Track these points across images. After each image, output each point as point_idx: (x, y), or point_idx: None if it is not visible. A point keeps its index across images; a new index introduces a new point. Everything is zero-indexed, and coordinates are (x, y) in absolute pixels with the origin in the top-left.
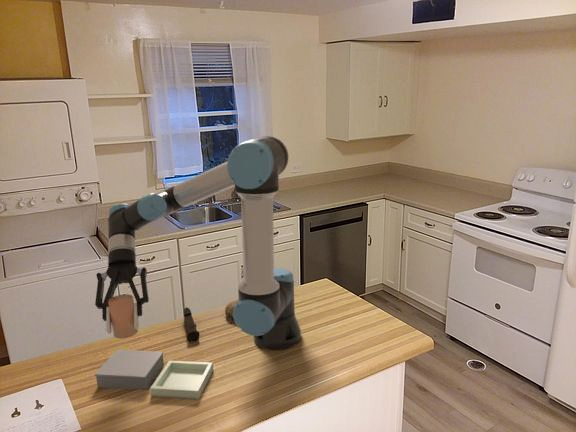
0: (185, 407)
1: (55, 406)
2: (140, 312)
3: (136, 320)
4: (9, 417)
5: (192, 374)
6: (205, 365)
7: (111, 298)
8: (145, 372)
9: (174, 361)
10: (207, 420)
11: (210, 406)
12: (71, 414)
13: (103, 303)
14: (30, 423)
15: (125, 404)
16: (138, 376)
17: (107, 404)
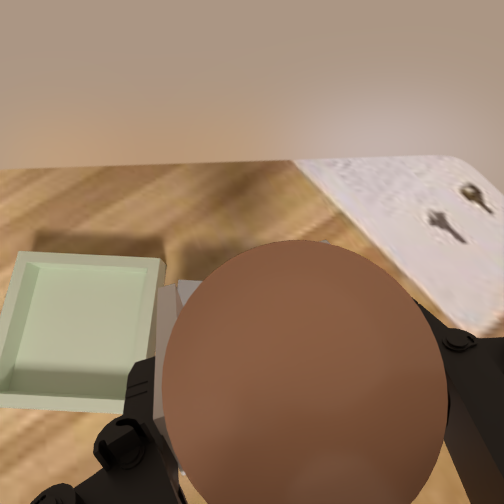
0: (67, 228)
1: (397, 220)
2: (136, 372)
3: (160, 308)
4: (477, 182)
5: (61, 366)
6: (5, 393)
7: (435, 401)
8: (184, 303)
9: (116, 408)
10: (9, 188)
11: (3, 234)
12: (338, 196)
13: (480, 352)
14: (412, 166)
15: (223, 233)
16: (200, 281)
17: (270, 232)
